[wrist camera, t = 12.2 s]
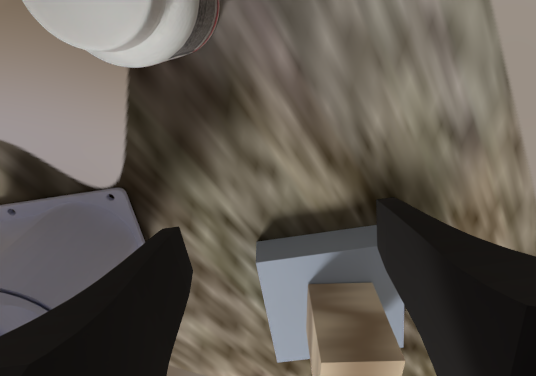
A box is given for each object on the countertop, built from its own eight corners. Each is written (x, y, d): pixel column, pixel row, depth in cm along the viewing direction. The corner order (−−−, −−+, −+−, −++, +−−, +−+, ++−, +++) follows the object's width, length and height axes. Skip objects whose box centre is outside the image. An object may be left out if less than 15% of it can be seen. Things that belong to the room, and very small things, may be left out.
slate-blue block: (276, 331, 29) (277, 362, 27) (256, 238, 25) (255, 262, 22) (390, 317, 29) (403, 347, 26) (389, 219, 25) (405, 242, 22)
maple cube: (306, 329, 25) (317, 412, 20) (307, 284, 23) (321, 362, 18) (365, 328, 25) (393, 411, 20) (372, 282, 23) (405, 360, 18)
